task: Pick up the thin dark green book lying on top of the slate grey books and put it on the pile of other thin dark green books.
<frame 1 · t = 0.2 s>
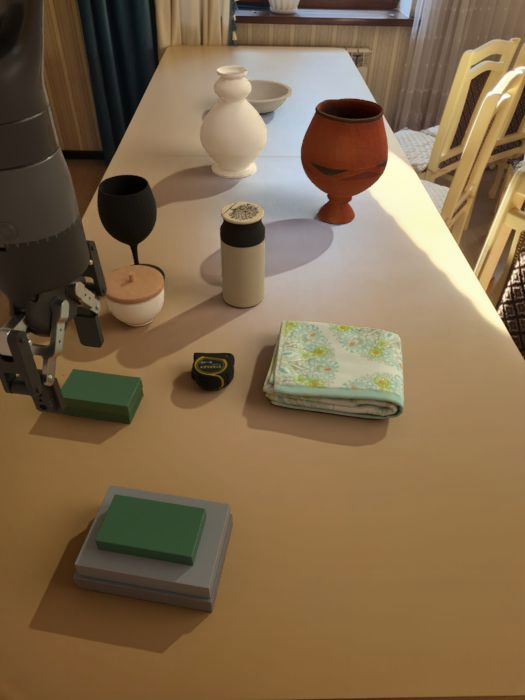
hand: (74, 375, 49), 27 cm above the table, tool pointing down, fingers open, 8 cm apart
travel mug: (243, 297, 105), on the table
goblet: (336, 216, 130), on the table
trinket box: (139, 316, 100), on the table
wine glass: (139, 280, 109), on the table
grey books: (158, 554, 65), on the table, touching green book
green books: (103, 404, 83), on the table
decorative vase: (234, 169, 149), on the table
towel: (334, 376, 89), on the table
green book: (153, 533, 62), point 5 cm above the table, touching grey books
soup bowl: (256, 111, 185), on the table
tape measure: (211, 377, 88), on the table
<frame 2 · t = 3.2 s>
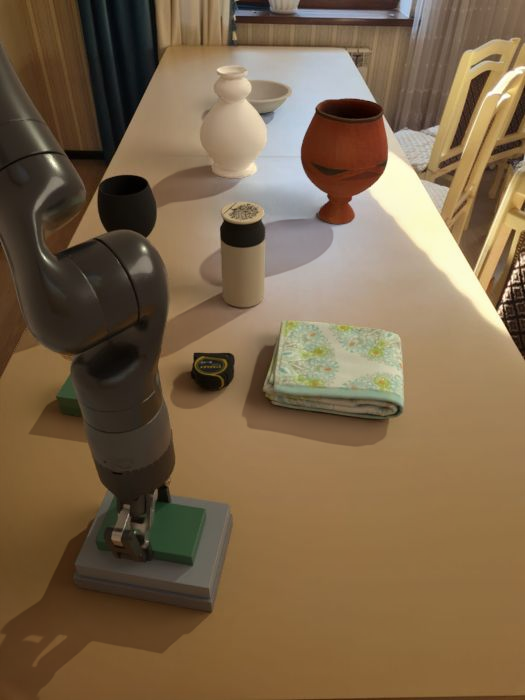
hand: (152, 529, 61), 6 cm above the table, tool pointing down, fingers closed on green book, 6 cm apart
green book: (153, 533, 62), point 5 cm above the table, touching grey books, gripper
everything else where it was.
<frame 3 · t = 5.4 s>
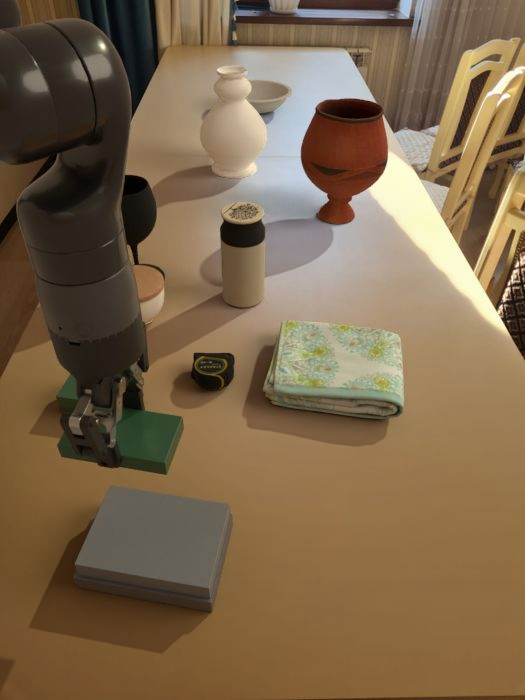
hand: (123, 437, 55), 19 cm above the table, tool pointing down, fingers closed on green book, 6 cm apart
grey books: (158, 554, 65), on the table
green book: (124, 442, 56), point 18 cm above the table, touching gripper
everything else where it was.
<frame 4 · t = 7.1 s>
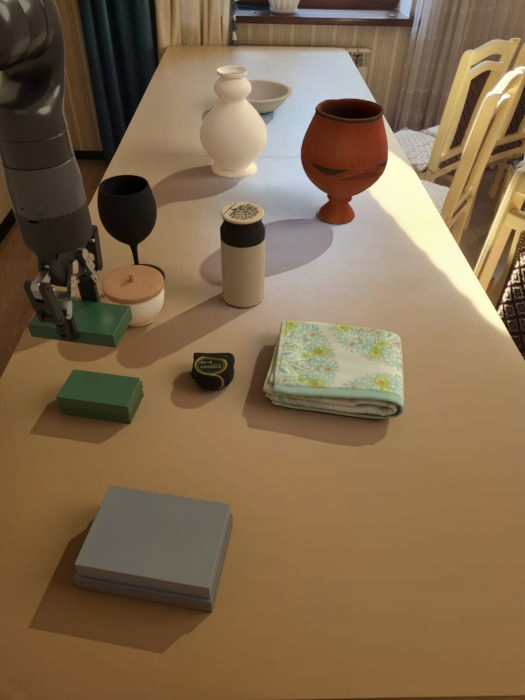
hand: (81, 322, 68), 19 cm above the table, tool pointing down, fingers closed on green book, 6 cm apart
green book: (83, 327, 68), point 18 cm above the table, touching gripper
everything else where it was.
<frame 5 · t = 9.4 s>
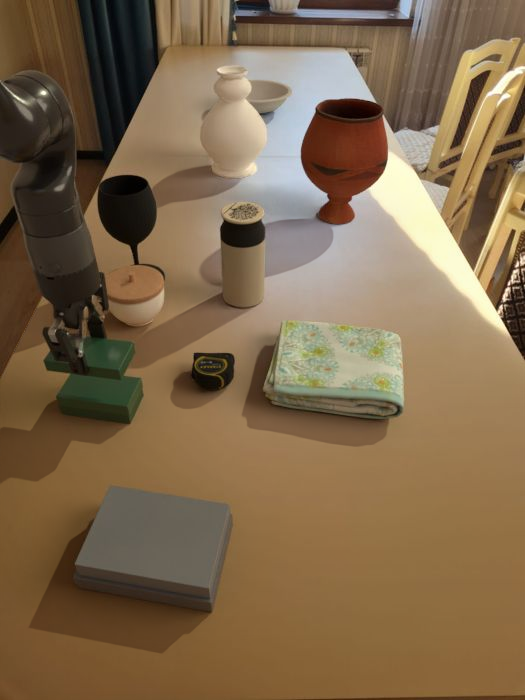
hand: (90, 357, 77), 10 cm above the table, tool pointing down, fingers closed on green book, 6 cm apart
green book: (92, 361, 77), point 9 cm above the table, touching gripper
everything else where it was.
when the fingers open (5 cm above the table, at t = 11.2 s): green book stays where it is, resting on green books.
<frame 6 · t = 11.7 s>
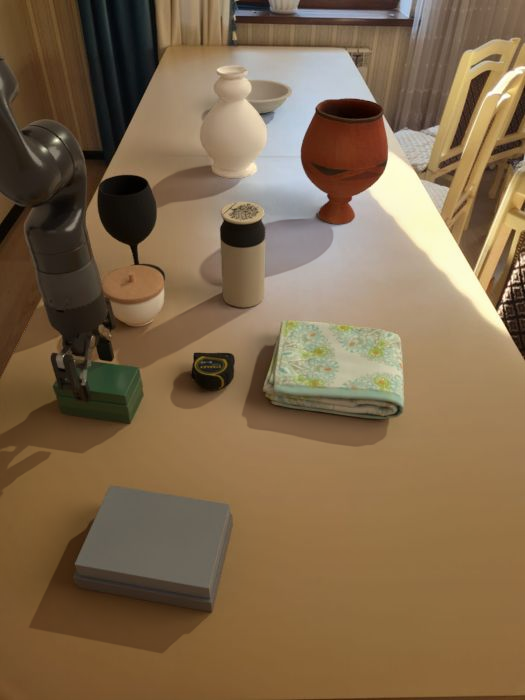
hand: (96, 379, 80), 6 cm above the table, tool pointing down, fingers open, 8 cm apart
green books: (103, 404, 83), on the table, touching green book
green book: (99, 385, 81), point 4 cm above the table, touching green books
everything else where it was.
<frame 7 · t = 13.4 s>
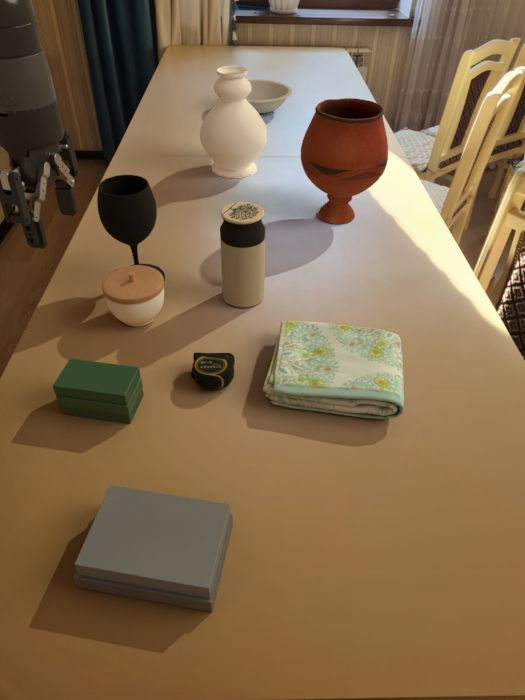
hand: (54, 229, 70), 27 cm above the table, tool pointing down, fingers open, 8 cm apart
nothing on the table moved.
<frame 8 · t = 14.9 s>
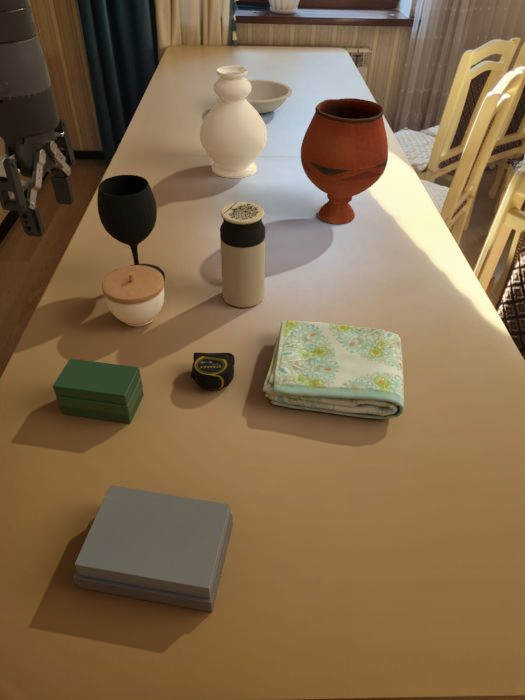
hand: (51, 218, 70), 28 cm above the table, tool pointing down, fingers open, 8 cm apart
nothing on the table moved.
at the end: green book 0.1 cm off-centre on the green books, point 4.0 cm above the green books's base; green book tilted 0° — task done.
